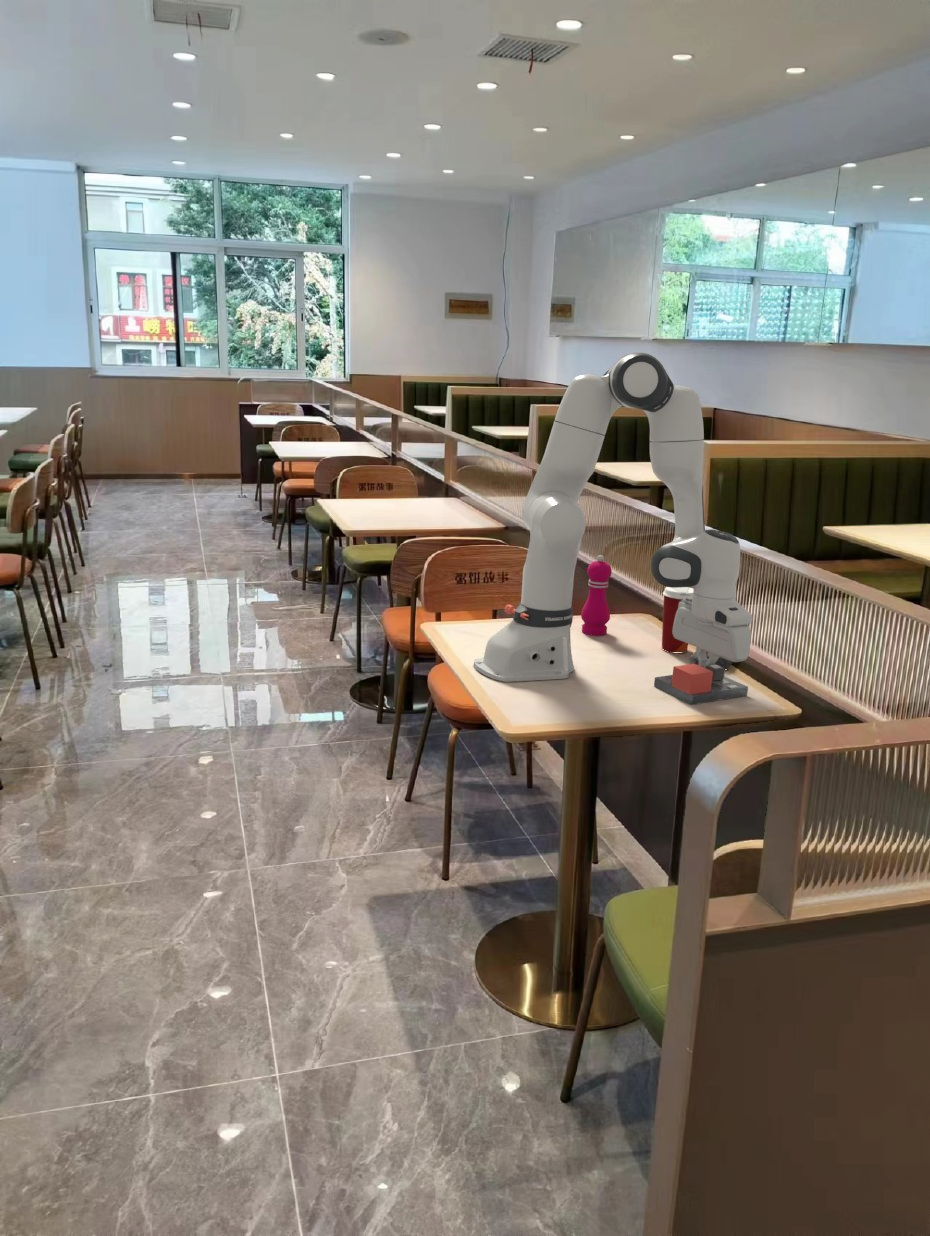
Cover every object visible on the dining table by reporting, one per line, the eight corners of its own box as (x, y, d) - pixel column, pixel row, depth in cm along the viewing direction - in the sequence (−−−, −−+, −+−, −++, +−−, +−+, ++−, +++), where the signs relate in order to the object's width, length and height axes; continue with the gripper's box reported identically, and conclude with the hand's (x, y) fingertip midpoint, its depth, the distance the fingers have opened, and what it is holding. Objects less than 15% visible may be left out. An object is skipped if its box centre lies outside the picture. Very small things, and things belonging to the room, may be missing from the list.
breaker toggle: (713, 680, 203) (714, 668, 202) (704, 676, 205) (705, 664, 204) (723, 679, 204) (724, 667, 203) (714, 675, 206) (715, 663, 206)
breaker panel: (692, 704, 194) (693, 691, 193) (654, 686, 204) (655, 673, 203) (747, 695, 201) (748, 683, 200) (707, 678, 211) (709, 666, 211)
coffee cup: (694, 655, 228) (702, 594, 224) (660, 653, 228) (666, 592, 224) (687, 645, 236) (694, 586, 232) (654, 643, 236) (660, 584, 232)
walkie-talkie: (699, 652, 232) (682, 674, 214) (701, 634, 231) (685, 655, 213) (736, 658, 229) (722, 681, 211) (738, 640, 227) (725, 662, 210)
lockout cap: (689, 694, 194) (691, 674, 193) (671, 685, 199) (673, 666, 198) (710, 691, 197) (713, 671, 196) (692, 682, 201) (694, 663, 200)
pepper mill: (613, 632, 244) (620, 555, 239) (601, 638, 238) (608, 559, 233) (587, 627, 248) (593, 550, 243) (575, 632, 242) (581, 554, 237)
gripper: (669, 597, 210) (662, 657, 214) (736, 620, 193) (727, 685, 197) (691, 595, 213) (684, 654, 217) (759, 618, 196) (750, 682, 200)
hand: (705, 669), depth 207 cm, fingers closed
